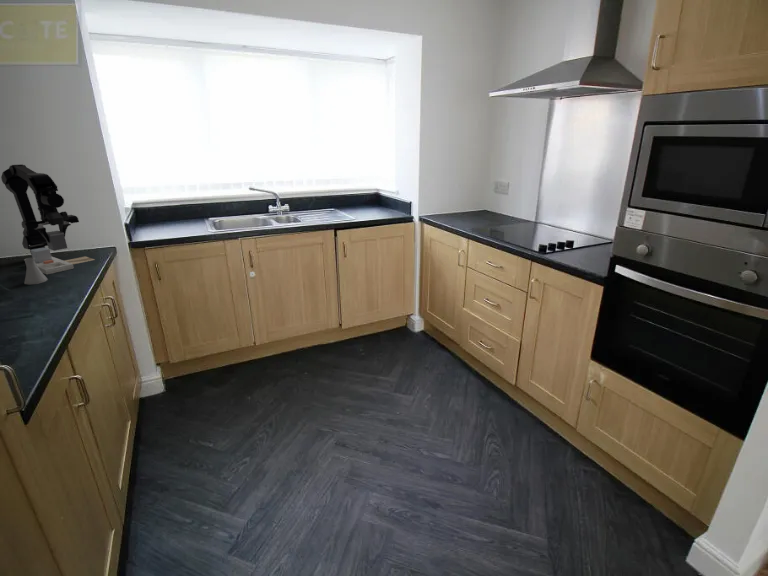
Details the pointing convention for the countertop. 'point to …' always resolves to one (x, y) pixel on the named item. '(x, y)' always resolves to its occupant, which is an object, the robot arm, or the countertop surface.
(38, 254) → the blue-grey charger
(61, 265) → the power strip
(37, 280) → the flask
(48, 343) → the countertop surface
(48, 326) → the countertop surface
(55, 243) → the block
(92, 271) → the countertop surface
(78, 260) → the cork pad
